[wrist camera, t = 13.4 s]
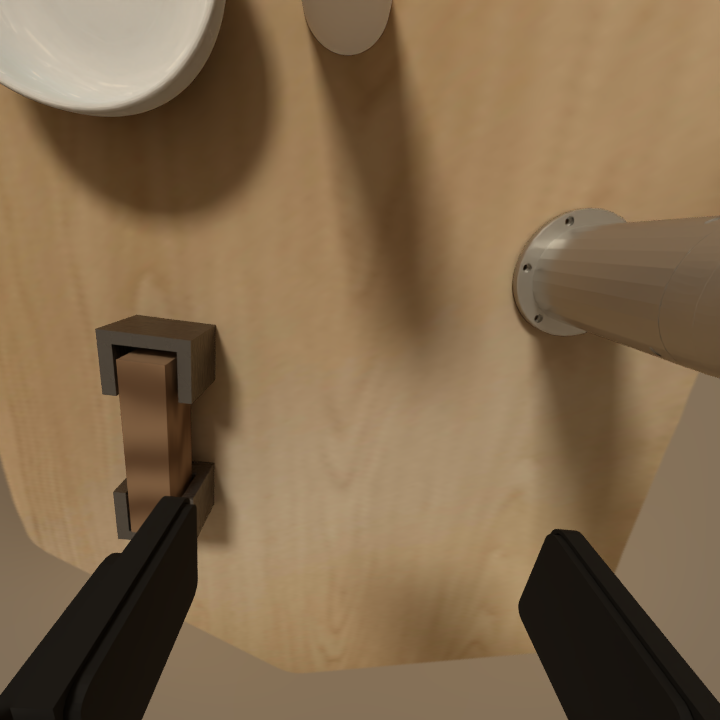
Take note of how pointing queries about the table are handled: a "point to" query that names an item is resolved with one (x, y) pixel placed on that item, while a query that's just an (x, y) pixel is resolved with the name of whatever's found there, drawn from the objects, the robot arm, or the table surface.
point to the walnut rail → (153, 430)
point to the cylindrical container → (347, 23)
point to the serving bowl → (105, 51)
